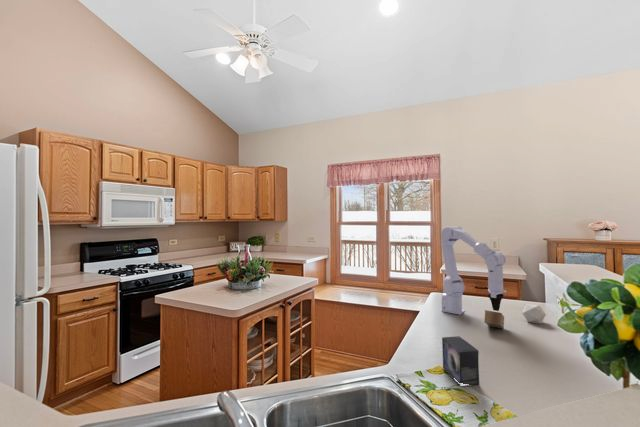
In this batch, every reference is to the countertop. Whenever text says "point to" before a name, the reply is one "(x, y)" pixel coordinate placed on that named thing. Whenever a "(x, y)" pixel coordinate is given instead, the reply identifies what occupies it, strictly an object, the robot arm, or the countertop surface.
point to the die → (533, 313)
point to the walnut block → (494, 319)
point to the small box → (460, 360)
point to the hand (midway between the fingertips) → (496, 310)
